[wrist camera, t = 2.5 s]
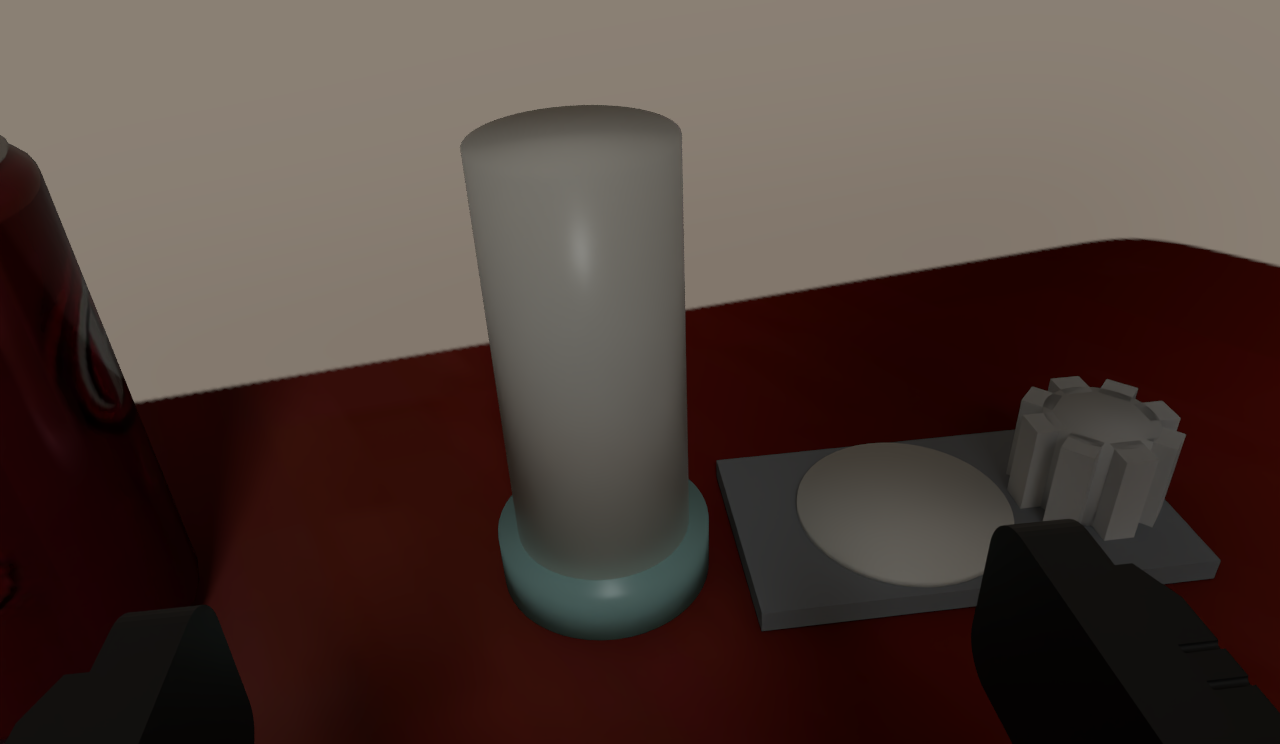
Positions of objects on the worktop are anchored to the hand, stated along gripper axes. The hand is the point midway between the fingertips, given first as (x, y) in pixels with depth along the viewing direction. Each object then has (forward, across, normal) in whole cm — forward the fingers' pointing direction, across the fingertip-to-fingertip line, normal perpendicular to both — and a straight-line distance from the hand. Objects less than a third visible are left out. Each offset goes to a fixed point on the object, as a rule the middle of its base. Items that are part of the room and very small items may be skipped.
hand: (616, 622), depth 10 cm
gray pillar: (+12, 0, +10) cm, 15 cm away
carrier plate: (+12, -10, +10) cm, 18 cm away
